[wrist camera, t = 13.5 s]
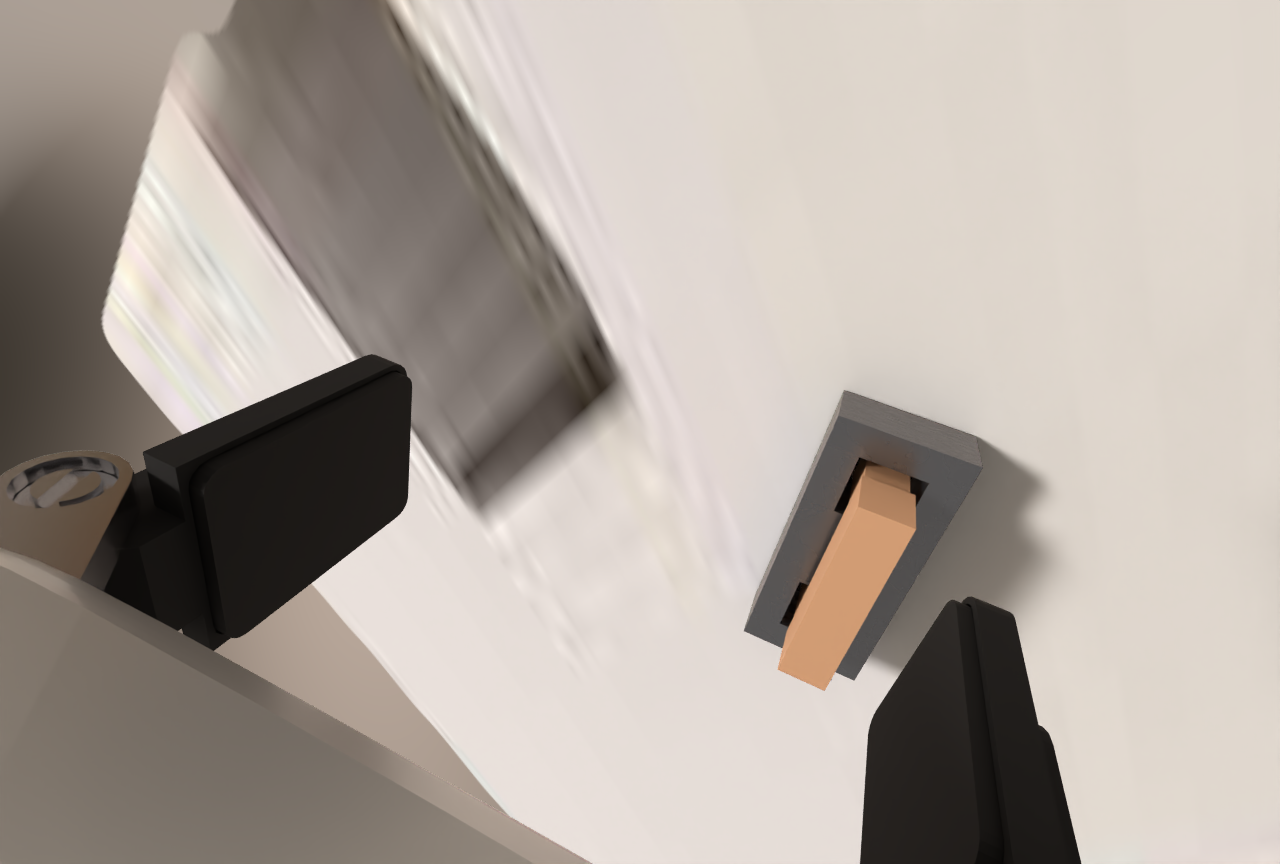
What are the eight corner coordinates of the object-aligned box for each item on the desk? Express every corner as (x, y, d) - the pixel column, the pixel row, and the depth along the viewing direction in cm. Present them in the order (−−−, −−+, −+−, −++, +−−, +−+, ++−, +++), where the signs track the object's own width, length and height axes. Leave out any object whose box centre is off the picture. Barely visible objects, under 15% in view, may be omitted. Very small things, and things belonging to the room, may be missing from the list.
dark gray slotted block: (976, 436, 37) (982, 467, 34) (858, 640, 46) (854, 680, 43) (844, 390, 39) (838, 415, 36) (755, 595, 48) (743, 630, 45)
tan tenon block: (914, 455, 39) (916, 529, 32) (837, 602, 46) (824, 690, 38) (867, 437, 40) (858, 506, 33) (797, 585, 46) (777, 669, 39)
